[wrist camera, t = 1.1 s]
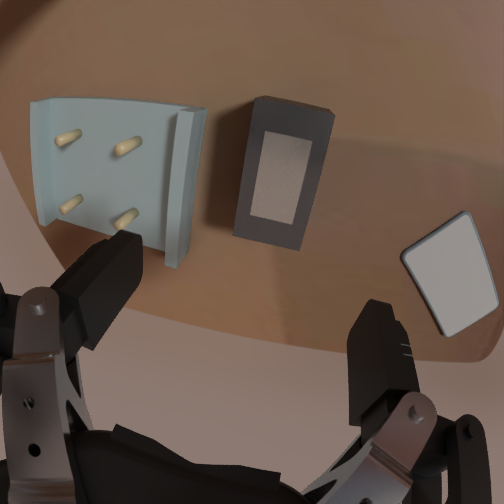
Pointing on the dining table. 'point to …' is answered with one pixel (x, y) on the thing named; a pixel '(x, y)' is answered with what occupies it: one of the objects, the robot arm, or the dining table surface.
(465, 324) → the smartphone
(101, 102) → the tray
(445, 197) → the dining table surface
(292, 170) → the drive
